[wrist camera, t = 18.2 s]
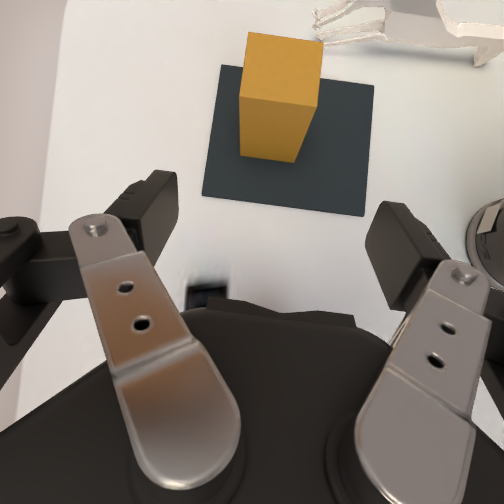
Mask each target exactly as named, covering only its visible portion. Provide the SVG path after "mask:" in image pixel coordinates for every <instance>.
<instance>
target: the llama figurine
mask: <svg viewBox="0 0 504 504" xmlns="http://www.w3.org/2000/svg"><path fill="white" fill-rule="evenodd" d="M352 1H353V0H342V1H340V2H338V3H336V4H334V5H332V6H329V7H327V8H325V9H323V10H321V11H319V12H314V11H312V13H313V16H314V19H315V25H313V24H312V27H313V28H314V29H315V30H316V28H319V29H320V27H321V26H323V25H325V24H328V23H330V22H332V21H334V20H337V19H339V18H341V17H343V16H344V15H347V14H349V13H350V12H352V11H354V10H356V9H358V8H361V7H384V9H386V10H385V20H376V21H372V22H368V23H364V24H360V25H356V26H350V27H345V28H339V29H334V30H329V31H323V32H319V33H316V36H317V37H318V38H319V39H320V40H321V41H322V40H323V39H324V37H327V36H334V35H341V34H348V33H354V32H365V31H380V32H381V33H374V34H370V35H366V36H361V37H357V38H351V39H346V40H340V41H335V42H329V43H324V46H323V48H324V47H330V46H336V45H342V44H348V43H354V42H361V41H370V40H381V41H383V42H395V41H398V42H403V43H409V44H414V45H420V46H426V47H435V48H456V47H466V46H473V47H478V50H477V52H476V53H475V54H474V55H473V56H474V66H473V67H476V66H480V65H483V64H485V63H486V62H487V61H488V60H490V59H492V58H494V57H496V56H498V55H499V54H500V53H501V52H503V51H504V26H499V25H489V24H481V23H468V22H463V23H460V24H457V23H455V22H454V21H452V20H450V19H449V18H447V16H446V14H445V12H444V9H443V7H442V5H441V2H440V0H356V1H354V2H353V3H352V4H351V5H350V6H349V7H348V8H346V9H345V10H344V11H343V12H341V13H339V14H337V15H335V16H333V17H331V18H328V19H326V20H324V21H322V22H319V23H317V22H318V20H319V21H320V19H321V18H323V17H325V16H327V15H329V14H332V13H334V12H336V11H338V10H340V9H342V8H344V7H345V6H347V5H348V3H350V2H352ZM316 11H317V8H316Z"/></svg>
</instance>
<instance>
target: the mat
mask: <svg viewBox="0 0 504 504" xmlns="http://www.w3.org/2000/svg"><path fill="white" fill-rule="evenodd" d="M242 73H243V67H237V66H230V65H221V71H220V77H219V84H218V90H217V97H216V103H215V110H214V116H213V123H212V129H211V136H210V142H209V149H208V155H207V162H206V168H205V175H204V182H203V188H202V196H209V197H216V198H224V199H232V200H239V201H247V202H254V203H262V204H270V205H277V206H285V207H292V208H300V209H308V210H315V211H323V212H331V213H338V214H346V215H353V216H361V217H363V216H364V214H365V201H366V188H367V175H368V162H369V148H370V135H371V122H372V109H373V96H374V86H373V85H366V84H359V83H352V82H345V81H337V80H330V79H323V78H320V84H319V93H318V102H317V108H316V110H315V113H314V115H313V118H312V120H311V123H310V125H309V128H308V130H307V133H306V135H305V137H304V140H303V142H302V145H301V147H300V150H299V152H298V155H297V157H296V159H295V162H294V163H290V162H283V161H276V160H268V159H261V158H254V157H246V156H240V115H239V94H240V87H241V80H242Z"/></svg>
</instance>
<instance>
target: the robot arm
mask: <svg viewBox="0 0 504 504" xmlns="http://www.w3.org/2000/svg"><path fill="white" fill-rule="evenodd" d="M178 212H179V206H178V185H177V175H176V173H175V172H170V171H163V170H154V171H153V173H152V174H151V175H150V176H149V177H148V178H147V179H146V181H143V180H140V181H138V182H136V183H134V184H131V185H130V186H129V187H128V188H127V189H126V190H125V191H124V193H122V194H121V195H120V196H119V197H118V199H116V200H115V201H114V202H113V204H112V205H111V206H110V207H109V208H108V209H107V210H106V211H105V212H104V213H103V214H91V215H87V216H83V217H81V218H79V219H77V220H75V221H74V222H72V223H71V224H70V226H69V231H57V232H40V231H39V228H38V226H37V223H36V222H35V221H34V220H33V219H30V218H27V217H6V218H1V219H0V288H1V287H2V286H3V288H4V289H5V291H6V294H5V295H4V296H3V297H2V298H1V299H0V390H1V388H2V387H3V386H4V384H5V383H6V381H7V380H8V379H9V377H10V376H11V374H12V373H13V371H14V370H15V369H16V367H17V366H18V364H19V363H20V361H21V360H22V359H23V357H24V356H25V354H26V353H27V351H28V350H29V348H30V347H31V346H32V344H33V343H34V341H35V340H36V338H37V337H38V336H39V334H40V333H41V331H42V330H43V328H44V327H45V326H46V324H47V323H48V321H49V320H50V318H51V317H52V316H53V314H54V313H55V311H56V310H57V308H58V307H59V306H60V304H61V303H62V301H63V300H71V299H80V298H88V299H89V302H90V306H91V309H92V312H93V316H94V319H95V323H96V326H97V329H98V333H99V336H100V339H101V343H102V346H103V349H104V353H105V356H106V359H107V360H106V361H104V362H103V363H101V364H100V365H98V366H97V367H96V368H94V369H93V370H91V371H90V372H88V373H87V374H85V375H84V376H82V377H81V378H79V379H78V380H77V381H75V382H74V383H72V384H71V385H69V386H68V387H66V388H65V389H63V390H62V391H60V392H59V393H57V394H56V395H55V396H53V397H52V398H50V399H49V400H47V401H46V402H44V403H43V404H41V405H40V406H38V407H37V408H35V409H34V410H33V411H31V412H30V413H28V414H27V415H25V416H24V417H22V418H21V419H19V420H18V421H16V422H15V423H13V424H12V425H11V426H9V427H8V428H6V429H5V430H3V431H2V432H0V504H504V451H503V450H502V449H501V448H500V447H499V446H498V445H497V444H496V443H495V442H494V441H493V440H492V439H491V438H489V437H488V436H487V435H486V434H485V433H484V432H483V431H482V430H481V429H480V428H479V427H478V426H477V425H475V424H474V423H473V421H472V419H471V413H472V409H473V404H474V400H475V396H476V391H477V387H478V382H479V378H480V376H481V378H482V380H483V382H484V384H485V385H486V387H487V389H488V391H489V393H490V395H491V397H492V399H493V401H494V402H495V404H496V406H497V408H498V410H499V412H500V414H501V416H502V418H503V419H504V292H502V291H504V198H503V199H500V200H497V201H495V202H492V203H490V204H488V205H486V206H484V207H483V208H482V209H480V210H479V211H478V212H477V213H476V215H475V216H474V217H473V219H472V221H471V223H470V225H469V228H468V232H467V251H468V255H469V258H470V260H471V263H472V265H473V266H471V265H469V264H466V263H463V262H460V261H456V260H452V259H451V258H450V257H449V255H448V254H447V253H446V251H445V250H444V249H443V247H442V246H441V245H440V243H439V242H437V239H436V238H435V237H434V235H432V233H431V232H430V230H429V229H428V228H427V226H426V225H425V224H423V223H422V222H420V221H419V220H418V219H416V218H415V217H414V216H413V214H412V213H411V212H410V210H409V209H408V208H407V206H406V205H405V204H404V203H397V202H389V201H383V202H382V203H381V204H380V205H379V207H378V210H377V212H376V214H375V217H374V219H373V221H372V224H371V226H370V228H369V231H368V233H367V236H366V240H365V248H366V251H367V254H368V256H369V259H370V261H371V264H372V266H373V269H374V271H375V274H376V276H377V278H378V281H379V283H380V286H381V288H382V291H383V293H384V296H385V298H386V301H387V303H388V306H389V308H390V310H397V311H405V312H406V315H405V316H404V318H403V319H402V321H401V323H400V324H399V326H398V328H397V329H396V331H395V333H394V335H393V336H392V338H391V340H390V341H389V343H388V344H387V343H386V342H385V341H383V340H382V339H380V338H379V337H377V336H375V335H373V334H372V333H370V332H368V331H365V330H363V329H361V328H358V327H356V323H355V320H354V316H353V315H349V314H341V313H333V312H325V311H306V312H294V313H279V312H275V311H273V310H270V309H267V308H264V307H261V306H258V305H255V304H252V303H249V302H246V301H240V300H232V299H225V298H217V297H208V301H207V305H206V307H203V308H197V309H191V310H188V311H184V312H181V313H179V311H178V309H177V308H176V306H175V304H174V302H173V301H172V299H171V297H170V295H169V294H168V292H167V290H166V288H165V287H164V285H163V283H162V281H161V279H160V278H159V276H158V274H157V272H156V271H155V269H154V266H155V264H156V262H157V260H158V258H159V256H160V254H161V252H162V250H163V248H164V246H165V244H166V242H167V240H168V238H169V237H170V235H171V233H172V231H173V229H174V227H175V225H176V223H177V219H178ZM491 286H493V287H495V288H496V289H499V290H501V291H499V290H496V289H492V288H491Z"/></svg>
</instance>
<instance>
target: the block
mask: <svg viewBox="0 0 504 504" xmlns="http://www.w3.org/2000/svg"><path fill="white" fill-rule="evenodd" d="M323 46H324V43H323V42H316V41H309V40H302V39H295V38H288V37H281V36H274V35H267V34H260V33H253V32H249V33H248V38H247V45H246V52H245V59H244V66H243V73H242V80H241V87H240V94H239V115H240V156H246V157H254V158H261V159H268V160H276V161H283V162H290V163H294V162H295V159H296V157H297V155H298V152H299V150H300V147H301V145H302V142H303V140H304V137H305V135H306V133H307V130H308V128H309V125H310V123H311V120H312V118H313V115H314V113H315V110H316V108H317V102H318V93H319V84H320V74H321V65H322V55H323Z"/></svg>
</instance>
